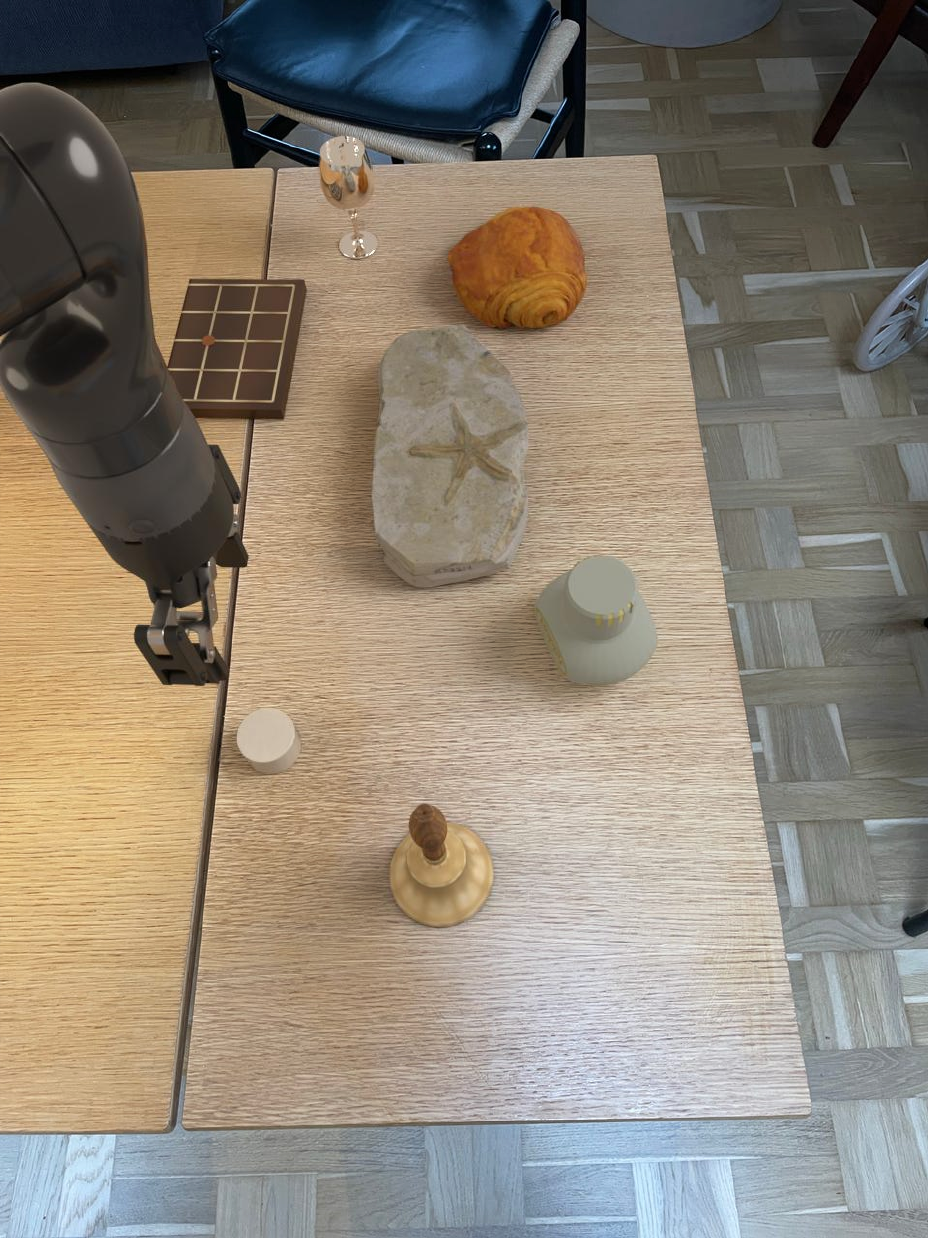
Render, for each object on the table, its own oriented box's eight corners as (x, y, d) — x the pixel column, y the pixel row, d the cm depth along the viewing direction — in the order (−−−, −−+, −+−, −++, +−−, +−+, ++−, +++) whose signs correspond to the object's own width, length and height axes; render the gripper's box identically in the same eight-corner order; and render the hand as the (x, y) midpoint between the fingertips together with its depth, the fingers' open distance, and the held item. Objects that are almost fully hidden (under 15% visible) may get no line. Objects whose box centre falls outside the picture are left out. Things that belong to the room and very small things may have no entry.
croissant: (567, 245, 112) (571, 178, 106) (595, 331, 103) (601, 264, 97) (442, 258, 112) (438, 192, 105) (459, 346, 102) (456, 279, 96)
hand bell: (367, 878, 78) (335, 822, 64) (438, 801, 80) (422, 731, 66) (444, 950, 75) (429, 908, 61) (515, 868, 78) (516, 810, 64)
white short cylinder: (240, 773, 82) (231, 761, 80) (249, 719, 85) (241, 706, 82) (297, 775, 82) (290, 763, 79) (304, 721, 84) (298, 708, 82)
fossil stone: (384, 357, 103) (377, 320, 98) (524, 353, 102) (524, 315, 98) (372, 589, 90) (364, 559, 85) (532, 586, 89) (533, 556, 85)
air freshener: (525, 606, 88) (526, 547, 80) (608, 575, 90) (619, 514, 81) (574, 710, 84) (582, 660, 75) (662, 676, 85) (680, 624, 76)
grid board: (111, 416, 101) (105, 406, 99) (147, 288, 109) (142, 277, 108) (284, 419, 100) (280, 409, 98) (306, 289, 108) (304, 278, 106)
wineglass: (366, 269, 109) (350, 176, 98) (323, 252, 110) (303, 158, 100) (393, 236, 111) (380, 142, 100) (351, 220, 113) (334, 125, 102)
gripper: (103, 371, 55) (188, 528, 70) (40, 591, 49) (148, 715, 63) (234, 371, 55) (292, 529, 69) (188, 594, 48) (263, 718, 63)
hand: (223, 618), depth 66 cm, fingers open, 8 cm apart
